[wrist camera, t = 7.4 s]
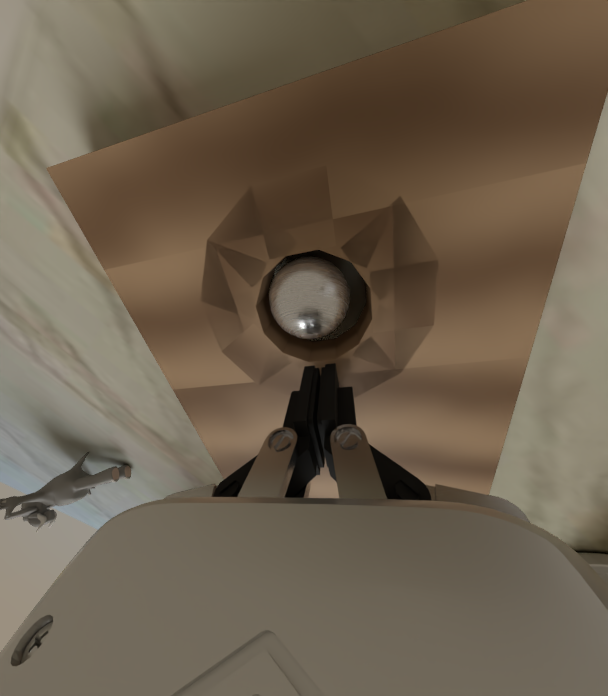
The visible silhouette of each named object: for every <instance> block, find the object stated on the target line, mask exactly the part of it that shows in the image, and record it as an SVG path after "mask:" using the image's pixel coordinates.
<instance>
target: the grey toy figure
mask: <svg viewBox="0 0 608 696" xmlns="http://www.w3.org/2000/svg"><path fill="white" fill-rule="evenodd" d="M88 453H89V452H87V453H86V454H85V455H84V456H83V457H82V458H81V459H80V460H79V462H78V463H77V464H76V465H75V466H74V467H73V468H72V469H71V470H69V471H67V472H65V473H63V474H61V475H59V476H57V477H55V478H54V479H52V480H51V481H50V482H49V483H47V484H46V485H45V486H44V487H42V488H41V489H40V490H38V491H37V492H35V493H31V494H28V495H25V496H20V497H16V496H13V497H9V498H6V499H0V510H2V509H6V515H5V520H9V519H13V518H16V517H20V516H22V517H23V520H24V521H28V522H29V523H30V524H31V525H32V526H35V527H38V529H37V531H36V532H38V531H39V530H40V528H42V526H43V525H45V524H47V523H49V522H50V525H49V528H50V527H51V526H52V524H53V523H54V522H55V519H56V516H57V514H56V512H55V511H54V510H49V508H51V507H53V506H55V505H57V506H63V505H68V504H71V503H73V502H76V501H78V500H80V499H82V498H83V497H85V496H86V495H87V493H88V494H89V495H90V494H91V492H90V489H92V488H93V489H94V488H95V486H98V485H101V484H107V483H110V482H117V481H118V480H119V479H122V478H124V479H129V478H130V477H131V469H130V467H129V466H128V465H124V466H121V467H119V468H117V467H116V466H115V467H112V468H109V469H106V470H104V471H102V472H99V473H97V474H95V475H89V474H87V473H86V472H84V471H83V470H82V468H81V466H82V464H83V462H84V460H85V458H86V456H87V455H88ZM20 504H22V508H21V510H20V511H18V512H14V513H11V512H12V511H13V509H14V508H15V507H16V506H18V505H20Z"/></svg>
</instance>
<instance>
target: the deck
mask: <svg viewBox="0 0 608 696" xmlns="http://www.w3.org/2000/svg"><path fill="white" fill-rule="evenodd" d="M607 92H608V0H527V1H524V2H521V3H518V4H516V5H513V6H510V7H507V8H504V9H501V10H498V11H496V12H493V13H490V14H487V15H484V16H481V17H478V18H475V19H473V20H470V21H467V22H464V23H461V24H458V25H455V26H453V27H450V28H447V29H444V30H441V31H438V32H435V33H432V34H430V35H427V36H424V37H421V38H418V39H415V40H412V41H410V42H407V43H404V44H401V45H398V46H395V47H392V48H389V49H387V50H384V51H381V52H378V53H375V54H372V55H369V56H367V57H364V58H361V59H358V60H355V61H352V62H349V63H346V64H344V65H341V66H338V67H335V68H332V69H329V70H326V71H324V72H321V73H318V74H315V75H312V76H309V77H306V78H303V79H301V80H298V81H295V82H292V83H289V84H286V85H283V86H281V87H278V88H275V89H272V90H269V91H266V92H263V93H260V94H258V95H255V96H252V97H249V98H246V99H243V100H240V101H238V102H235V103H232V104H229V105H226V106H223V107H220V108H217V109H215V110H212V111H209V112H206V113H203V114H200V115H197V116H195V117H192V118H189V119H186V120H183V121H180V122H177V123H174V124H172V125H169V126H166V127H163V128H160V129H157V130H154V131H152V132H149V133H146V134H143V135H140V136H137V137H134V138H131V139H129V140H126V141H123V142H120V143H117V144H114V145H111V146H109V147H106V148H103V149H100V150H97V151H94V152H91V153H88V154H86V155H83V156H80V157H77V158H74V159H71V160H68V161H66V162H63V163H60V164H57V165H54V166H51V167H48V168H46V169H47V171H48V172H49V174H50V176H51V178H52V179H53V181H54V183H55V184H56V186H57V188H58V190H59V191H60V193H61V195H62V197H63V198H64V200H65V202H66V204H67V205H68V207H69V209H70V211H71V212H72V214H73V216H74V218H75V219H76V221H77V223H78V225H79V226H80V228H81V230H82V232H83V233H84V235H85V237H86V239H87V240H88V242H89V244H90V246H91V247H92V249H93V251H94V253H95V254H96V256H97V258H98V260H99V261H100V263H101V265H102V267H103V268H104V270H105V272H106V274H107V275H108V277H109V279H110V281H111V282H112V284H113V286H114V288H115V289H116V291H117V293H118V295H119V296H120V298H121V300H122V302H123V303H124V305H125V307H126V309H127V310H128V312H129V314H130V316H131V317H132V319H133V321H134V323H135V324H136V326H137V328H138V330H139V331H140V333H141V335H142V337H143V338H144V340H145V342H146V344H147V345H148V347H149V349H150V351H151V352H152V354H153V356H154V358H155V359H156V361H157V363H158V365H159V366H160V368H161V370H162V372H163V373H164V375H165V377H166V379H167V380H168V382H169V384H170V386H171V387H172V389H173V391H174V393H175V394H176V396H177V398H178V399H179V401H180V403H181V405H182V406H183V408H184V410H185V412H186V413H187V415H188V417H189V419H190V420H191V422H192V424H193V426H194V427H195V429H196V431H197V433H198V434H199V436H200V438H201V440H202V441H203V443H204V445H205V447H206V448H207V450H208V452H209V454H210V455H211V457H212V459H213V461H214V462H215V464H216V466H217V468H218V469H219V471H220V473H221V475H222V476H223V478H224V479H225V478H227V477H228V476H230V475H231V474H232V473H234V472H235V471H236V470H238V469H239V468H240V467H242V466H243V465H244V464H246V463H247V462H248V461H250V460H251V459H253V458H254V457H255V456H257V455H258V453H259V451H260V449H261V447H262V445H263V443H264V441H265V439H266V437H267V436H268V435H269V434H270V433H271V432H272V431H274V430H275V429H278V428H281V427H283V423H284V419H285V415H286V411H287V407H288V404H289V400H290V396H291V393H292V391H299V390H300V385H301V380H302V375H303V371H304V367H305V366H314V365H315V368H319V370H320V375H321V368H322V367H325V364H334V363H335V364H336V369H337V375H338V382H339V387H352V388H353V396H354V404H355V413H356V423H357V426H358V427H360V428H361V429H362V430H363V431H364V433H365V434H366V437H367V440H368V443H369V444H370V445H371V446H373V447H374V448H376V449H377V450H378V451H380V452H381V453H383V454H384V455H386V456H387V457H388V458H390V459H391V460H393V461H394V462H396V463H397V464H398V465H400V466H401V467H403V468H404V469H406V470H407V471H408V472H410V473H411V474H413V475H414V476H416V477H417V478H418V479H420V480H421V481H422V482H423V483H424V484H425V485H429V486H434V487H435V484H438V485H443V486H448V487H453V488H458V489H462V490H467V491H472V492H477V493H481V494H486V495H489V493H490V489H491V486H492V482H493V479H494V476H495V472H496V469H497V465H498V462H499V459H500V455H501V452H502V448H503V445H504V442H505V438H506V435H507V431H508V428H509V425H510V421H511V418H512V414H513V411H514V408H515V404H516V401H517V397H518V394H519V391H520V387H521V384H522V380H523V377H524V374H525V370H526V367H527V364H528V360H529V357H530V353H531V350H532V347H533V343H534V340H535V336H536V333H537V330H538V326H539V323H540V319H541V316H542V313H543V309H544V306H545V302H546V299H547V296H548V292H549V289H550V285H551V282H552V279H553V275H554V272H555V268H556V265H557V262H558V258H559V255H560V251H561V248H562V245H563V241H564V238H565V234H566V231H567V228H568V224H569V221H570V218H571V214H572V211H573V207H574V204H575V201H576V197H577V194H578V190H579V187H580V184H581V180H582V177H583V173H584V170H585V167H586V163H587V160H588V156H589V153H590V150H591V146H592V143H593V139H594V136H595V133H596V129H597V126H598V122H599V119H600V116H601V112H602V109H603V105H604V102H605V99H606V95H607ZM314 250H321V251H324V252H326V253H329V254H332V255H334V256H337V257H339V258H342V259H345V260H347V261H350V262H351V263H352V264H353V265H354V267H355V268H356V270H357V271H358V272H359V274H360V275H361V276H362V278H363V279H364V280H365V290H366V305H365V307H364V309H363V311H362V313H361V315H360V317H359V319H358V321H357V323H356V325H355V326H353V327H352V328H350V329H349V330H347V331H346V332H344V333H343V334H342V335H340V336H339V337H337V338H336V339H328V340H320V341H310V340H307V339H303V338H298V337H296V336H293V335H291V334H289V333H288V332H286V331H285V330H284V329H282V328H281V327H280V325H279V324H278V323H277V321H276V320H275V318H274V316H273V314H272V312H271V308H270V303H269V294H268V292H269V288H270V284H271V280H272V277H273V273H274V269H275V268H276V267H277V266H278V265H279V264H280V263H281V262H282V261H283V260H284V259H285V258H286V257H287V256H289V255H294V254H299V253H304V252H309V251H314ZM310 482H311V487H310V492H309V496H308V498H339V493H338V487H337V482H336V481H335V480H334V479H333V478H332V477H331V476H330V473H329V468H328V467H327V464H326V459H325V465H324V468H320V475H316V476H315V477H314V478H313V479H312V480H311V481H310Z"/></svg>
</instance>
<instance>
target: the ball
mask: <svg viewBox="0 0 608 696" xmlns="http://www.w3.org/2000/svg"><path fill="white" fill-rule="evenodd" d="M349 302H350V293H349V287H348V284H347V281H346V279H345V277H344V275H343V274H342V273H341V271H340V270H339V269H338V268H337V267H336V266H335V265H333V264H332V263H331V262H329V261H327V260H325V259H322V258H319V257H301V258H297V259H295V260H292V261H290V262H289V263H287V264H286V265H284V266H283V267H282V268H281V269H280V270H279V272H278V273H277V274H276V276H275V277H274V279H273V282H272V284H271V288H270V293H269V303H270V308H271V312H272V314H273V316H274V318H275V320H276V321H277V323H278V324H279V325H280V327H281V328H282V329H284V330H285V331H286V332H288V333H289V334H291V335H293V336H296V337H298V338H303V339H315V338H320V337H323V336H326V335H328V334H329V333H331V332H332V331H334V330H335V329H336V328H337V327H338V326H339V325H340V324H341V323H342V321H343V320H344V318H345V316H346V314H347V311H348V308H349Z"/></svg>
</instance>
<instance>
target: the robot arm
mask: <svg viewBox="0 0 608 696" xmlns="http://www.w3.org/2000/svg"><path fill="white" fill-rule="evenodd" d="M325 459H326V464H327V467H328V468H329V473H330V476H331V477H332V478H333V479H334V480H335V481H336V482H337V487H338V493H339V498H308V496H309V492H310V487H311V482H310V481H311V480H312V479H313V478H314V477H315V476H316V475H320V468H324V465H325ZM0 696H608V554H601V553H577V552H576V551H574V550H573V549H572V548H571V547H570V546H568V545H567V544H566V543H565V542H563V541H562V540H560V539H559V538H558V537H556V536H554V535H553V534H551V533H549V532H547V531H546V530H544V529H542V528H540V527H538V526H536V525H534V524H531V523H530V521H529V520H528V518H527V516H526V515H525V514H524V513H523V512H522V511H521V510H520V509H519V508H518V507H517V506H516V505H514V504H513V503H511V502H509V501H508V500H505V499H502V498H499V497H496V496H491V495H486V494H481V493H477V492H472V491H467V490H462V489H458V488H453V487H448V486H443V485H438V484H435V487H434V486H429V485H425V484H424V483H423V482H422V481H421V480H420V479H418V478H417V477H416V476H414V475H413V474H411V473H410V472H408V471H407V470H406V469H404V468H403V467H401V466H400V465H398V464H397V463H396V462H394V461H393V460H391V459H390V458H388V457H387V456H386V455H384V454H383V453H381V452H380V451H378V450H377V449H376V448H374V447H373V446H371V445H370V444H369V443H368V440H367V437H366V434H365V433H364V431H363V430H362V429H361V428H360V427H358V426H357V423H356V413H355V404H354V396H353V388H352V387H339V382H338V375H337V369H336V364H335V363H334V364H325V367H322V368H321V375H320V370H319V368H315V365H314V366H305V367H304V371H303V375H302V380H301V385H300V390H299V391H292V393H291V396H290V400H289V404H288V407H287V411H286V415H285V419H284V423H283V427H281V428H278V429H275V430H274V431H272V432H271V433H270V434H269V435H268V436H267V437H266V439H265V441H264V443H263V445H262V447H261V449H260V451H259V453H258V455H257V456H255V457H254V458H253V459H251V460H250V461H248V462H247V463H246V464H244V465H243V466H242V467H240V468H239V469H238V470H236V471H235V472H234V473H232V474H231V475H230V476H228V477H227V478H225V479H224V480H223V481H222V482H221V483H220V484H219V485H218V486H216V485H215V484H211V485H207V486H203V487H199V488H194V489H190V490H186V491H182V492H178V493H174V494H171V495H169V496H167V497H166V498H164V499H162V500H156V501H152V502H148V503H144V504H141V505H139V506H136V507H134V508H131V509H128V510H126V511H124V512H122V513H120V514H118V515H117V516H115V517H113V518H112V519H110V520H109V521H108V522H106V523H105V524H104V525H103V526H102V527H101V528H100V529H99V530H98V531H97V532H96V533H95V534H94V535H93V536H92V537H91V538H90V539H89V540H88V541H87V542H86V544H85V545H84V546H83V547H82V548H81V549H80V551H79V552H78V553H77V554H76V555H75V557H74V558H73V559H72V560H71V562H70V563H69V564H68V565H67V566H66V568H65V569H64V570H63V571H62V573H61V574H60V575H59V576H58V578H57V579H56V580H55V582H54V583H53V584H52V585H51V587H50V588H49V589H48V591H47V592H46V593H45V595H44V596H43V597H42V598H41V600H40V601H39V602H38V604H37V605H36V606H35V607H34V609H33V610H32V611H31V613H30V614H29V615H28V616H27V618H26V619H25V620H24V622H23V623H22V625H21V626H20V627H19V628H18V630H17V631H16V633H15V634H14V635H13V637H12V638H11V639H10V640H9V642H8V643H7V645H6V646H5V647H4V648H3V650H2V651H1V652H0Z"/></svg>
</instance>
